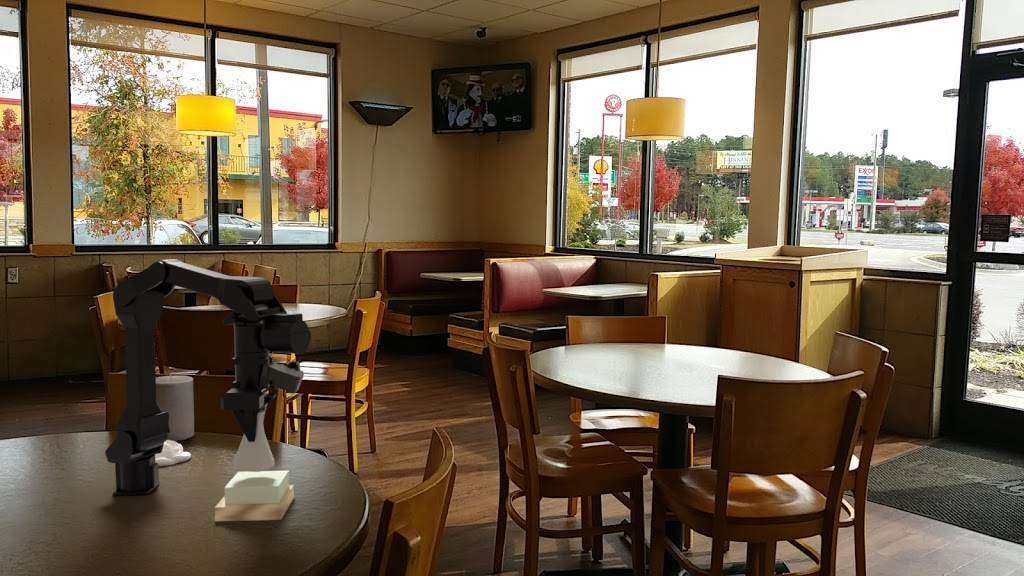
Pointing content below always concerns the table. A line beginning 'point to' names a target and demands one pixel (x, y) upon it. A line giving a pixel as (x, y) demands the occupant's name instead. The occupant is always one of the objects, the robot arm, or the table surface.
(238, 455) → the flask
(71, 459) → the table surface
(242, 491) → the tower top
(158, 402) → the pillar candle
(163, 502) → the table surface
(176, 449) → the rose
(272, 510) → the tower base
